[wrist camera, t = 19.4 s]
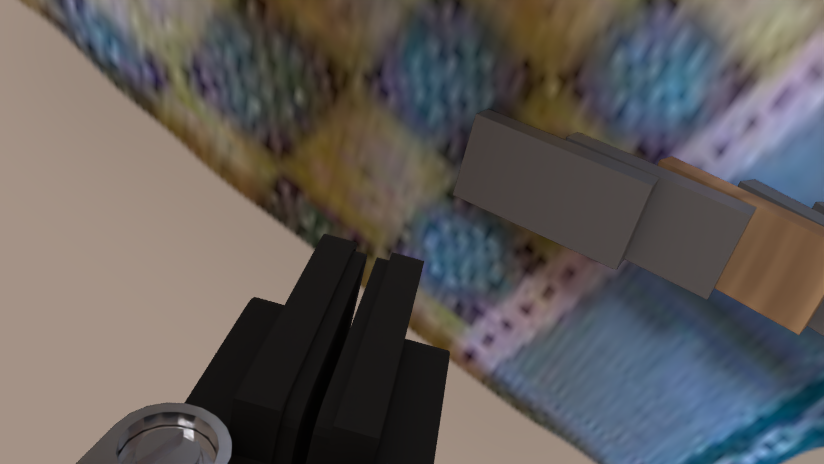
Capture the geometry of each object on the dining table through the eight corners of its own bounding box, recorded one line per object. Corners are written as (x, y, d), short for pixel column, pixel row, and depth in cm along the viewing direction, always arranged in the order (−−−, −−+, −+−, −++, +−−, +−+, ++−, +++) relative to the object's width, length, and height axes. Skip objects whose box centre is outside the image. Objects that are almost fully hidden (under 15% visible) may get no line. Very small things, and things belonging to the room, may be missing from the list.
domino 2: (538, 216, 40) (707, 299, 36) (566, 136, 37) (751, 216, 33) (549, 209, 41) (714, 289, 37) (577, 132, 39) (756, 207, 35)
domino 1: (452, 194, 40) (616, 270, 36) (476, 113, 38) (652, 185, 34) (465, 187, 41) (623, 259, 38) (488, 108, 39) (659, 177, 35)
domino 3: (701, 258, 40) (874, 368, 33) (740, 181, 38) (934, 283, 31) (716, 254, 41) (887, 360, 34) (755, 179, 38) (946, 278, 32)
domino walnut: (625, 238, 40) (798, 335, 34) (659, 160, 37) (851, 250, 32) (638, 232, 41) (807, 325, 36) (671, 156, 39) (858, 243, 33)
